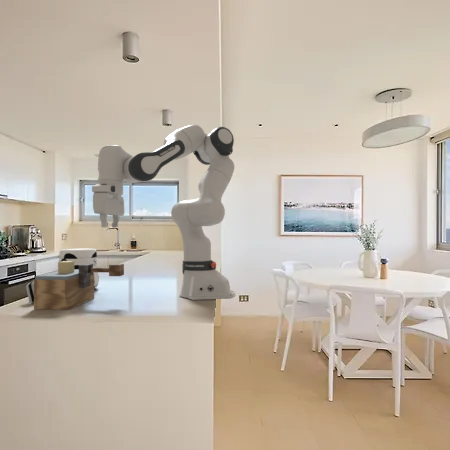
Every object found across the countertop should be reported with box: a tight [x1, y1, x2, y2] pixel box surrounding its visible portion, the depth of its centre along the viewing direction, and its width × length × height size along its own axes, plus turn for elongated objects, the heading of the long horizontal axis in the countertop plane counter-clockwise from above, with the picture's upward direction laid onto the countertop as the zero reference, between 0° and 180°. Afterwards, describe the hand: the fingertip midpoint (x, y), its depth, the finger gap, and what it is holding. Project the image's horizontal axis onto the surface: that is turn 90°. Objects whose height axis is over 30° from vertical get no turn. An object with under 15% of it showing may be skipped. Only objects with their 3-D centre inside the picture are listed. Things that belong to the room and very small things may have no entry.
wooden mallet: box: [91, 263, 125, 277], centre depth 129 cm, size 11×4×4 cm, turn 86°
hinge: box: [25, 279, 35, 305], centre depth 137 cm, size 17×5×10 cm, turn 175°
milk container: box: [58, 247, 100, 289], centre depth 157 cm, size 17×17×18 cm
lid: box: [35, 261, 79, 280], centre depth 130 cm, size 11×19×6 cm, turn 176°
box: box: [33, 264, 95, 311], centre depth 130 cm, size 15×20×14 cm
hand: (109, 227), depth 128 cm, fingers open, 8 cm apart
